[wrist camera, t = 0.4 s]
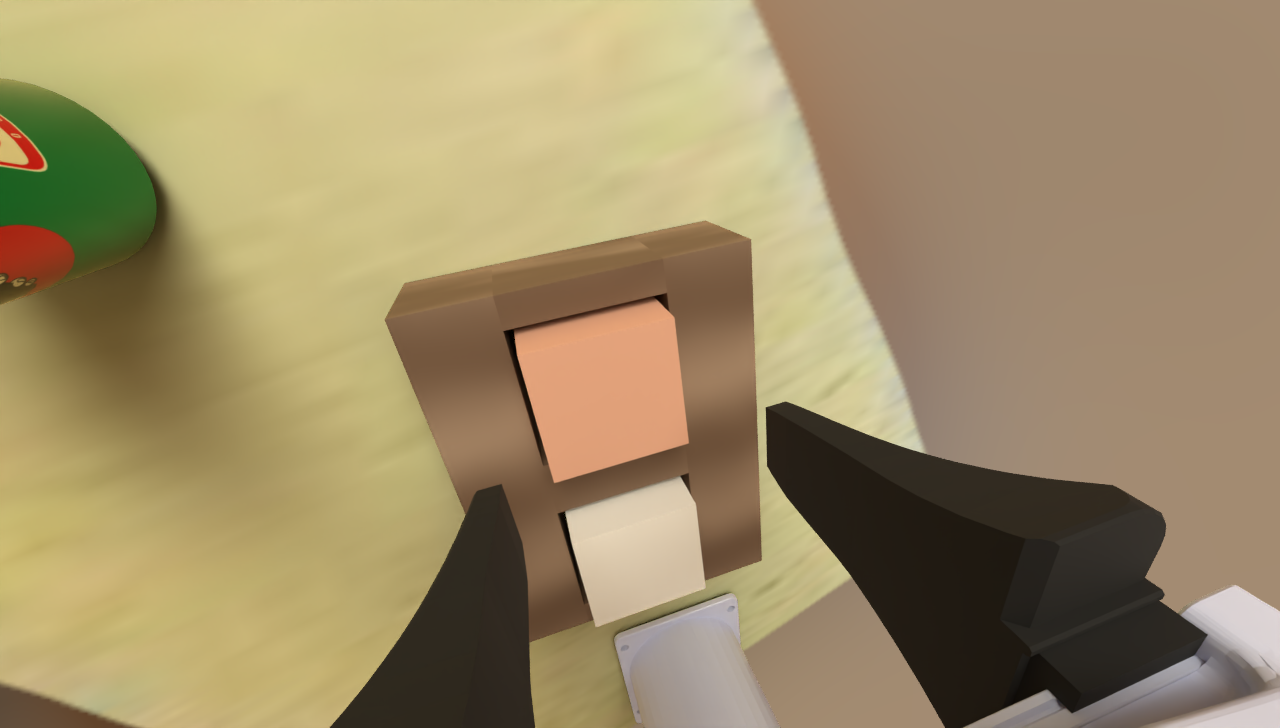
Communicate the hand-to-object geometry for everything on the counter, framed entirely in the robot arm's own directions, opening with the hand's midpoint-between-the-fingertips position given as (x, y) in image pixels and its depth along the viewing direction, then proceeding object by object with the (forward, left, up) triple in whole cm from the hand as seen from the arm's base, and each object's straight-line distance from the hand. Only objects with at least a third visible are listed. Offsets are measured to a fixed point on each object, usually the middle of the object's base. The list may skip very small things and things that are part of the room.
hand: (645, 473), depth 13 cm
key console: (-4, 0, -9) cm, 10 cm away
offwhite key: (-8, 0, -6) cm, 10 cm away
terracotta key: (0, 0, -6) cm, 6 cm away
